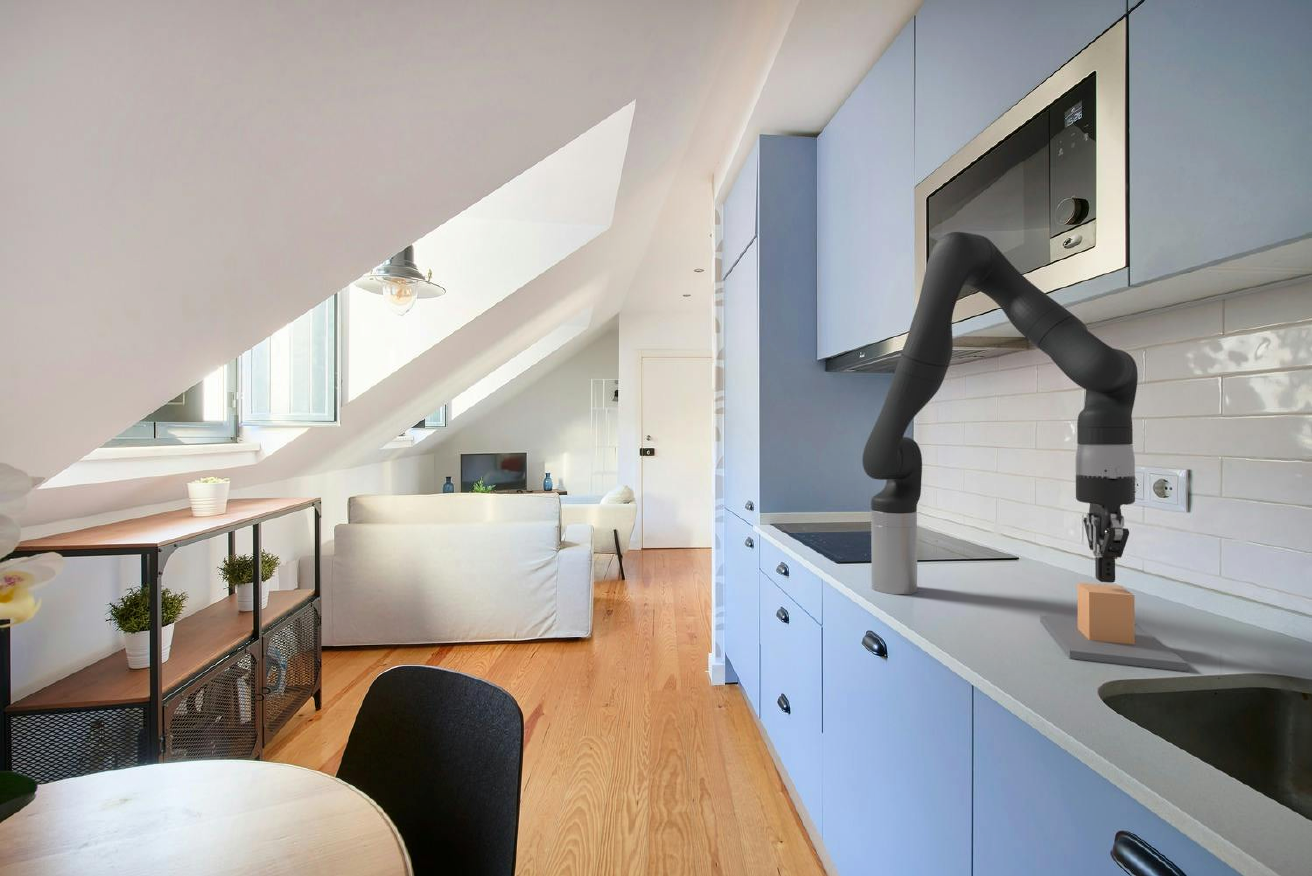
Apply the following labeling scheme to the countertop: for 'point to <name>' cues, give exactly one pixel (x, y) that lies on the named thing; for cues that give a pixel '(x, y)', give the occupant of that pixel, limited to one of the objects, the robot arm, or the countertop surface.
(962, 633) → the countertop surface
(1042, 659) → the countertop surface
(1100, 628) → the peach foam cube
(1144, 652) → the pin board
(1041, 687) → the countertop surface
